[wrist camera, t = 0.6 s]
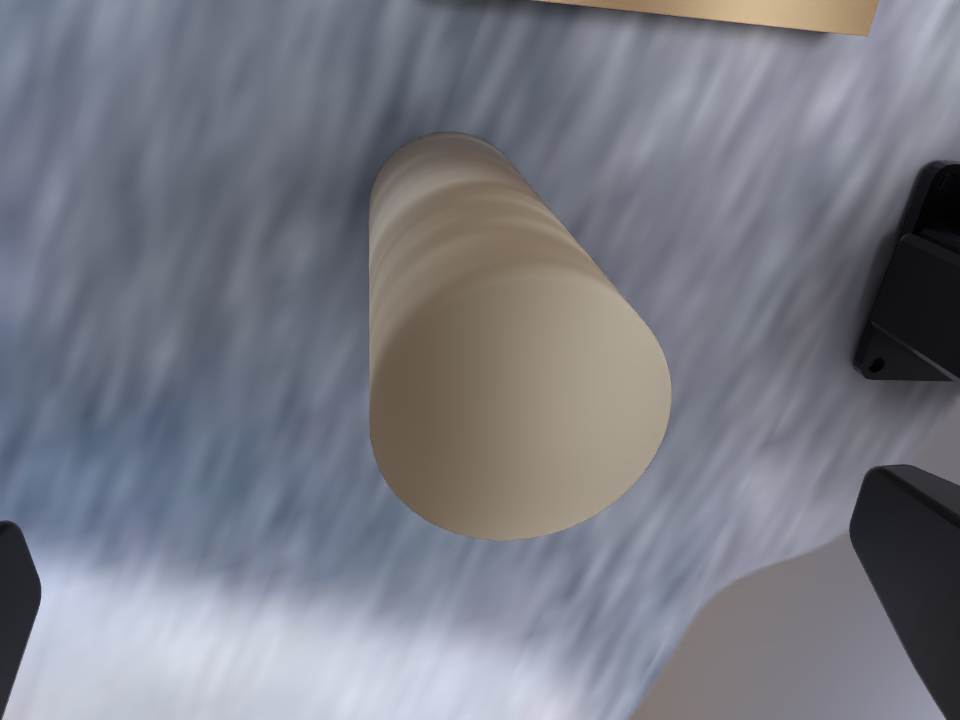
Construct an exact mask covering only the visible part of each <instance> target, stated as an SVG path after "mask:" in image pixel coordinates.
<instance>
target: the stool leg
mask: <svg viewBox="0 0 960 720" xmlns="http://www.w3.org/2000/svg"><path fill="white" fill-rule="evenodd" d="M369 381H370V438H371V443H372V448H373V453H374V456H375V459H376V462H377V464H378V467H379V469H380V472H381V473H382V475H383V477H384V479H385V480H386V482H387V484H388V485H389V487H390V488H391V489H392V490H393V492H394V493H395V494H396V496H397V497H398V498H399V499H400V500H401V501H402V502H403V503H404V504H405V505H406V506H407V507H409V508H410V509H411V510H412V511H413V512H415V513H416V514H418V515H419V516H420V517H422V518H423V519H425V520H427V521H429V522H431V523H432V524H434V525H436V526H438V527H440V528H443V529H445V530H448V531H451V532H453V533H456V534H460V535H464V536H468V537H472V538H479V539H486V540H521V539H529V538H535V537H540V536H545V535H548V534H552V533H556V532H559V531H562V530H565V529H567V528H570V527H572V526H575V525H577V524H579V523H581V522H583V521H585V520H587V519H589V518H591V517H593V516H595V515H596V514H598V513H599V512H601V511H603V510H604V509H606V508H607V507H609V506H610V505H611V504H612V503H614V502H615V501H616V500H617V499H619V498H620V497H621V496H622V495H624V494H625V493H626V492H627V491H628V490H629V489H630V488H631V487H632V486H633V485H634V484H635V483H636V481H637V480H638V479H639V478H640V476H641V475H642V474H643V473H644V471H645V470H646V469H647V467H648V466H649V464H650V463H651V461H652V459H653V458H654V456H655V455H656V453H657V450H658V448H659V446H660V444H661V442H662V440H663V437H664V434H665V431H666V428H667V425H668V421H669V415H670V410H671V394H672V388H671V380H670V372H669V369H668V365H667V362H666V358H665V355H664V353H663V351H662V349H661V347H660V345H659V342H658V340H657V339H656V337H655V336H654V334H653V333H652V332H651V330H650V329H649V327H648V326H647V325H646V323H645V322H644V321H643V320H642V319H641V317H640V316H639V315H638V314H637V313H636V311H635V310H634V309H633V308H632V307H631V305H630V304H629V303H628V302H627V301H626V300H625V298H624V297H623V296H622V295H621V294H620V292H619V291H618V290H617V289H616V288H615V286H614V285H613V284H612V283H611V282H610V280H609V279H608V278H607V277H606V276H605V274H604V273H603V272H602V271H601V270H600V269H599V267H598V266H597V265H596V264H595V263H594V261H593V260H592V259H591V258H590V257H589V255H588V254H587V253H586V252H585V251H584V249H583V248H582V247H581V246H580V245H579V243H578V242H577V241H576V240H575V239H574V238H573V236H572V235H571V234H570V233H569V232H568V230H567V229H566V228H565V227H564V226H563V224H562V223H561V222H560V221H559V220H558V218H557V217H556V216H555V215H554V214H553V212H552V211H551V210H550V209H549V208H548V206H547V205H546V204H545V203H544V202H543V201H542V199H541V198H540V197H539V196H538V195H537V193H536V192H535V191H534V190H533V189H532V187H531V186H530V185H529V184H528V183H527V181H526V180H525V179H524V178H523V177H522V175H521V174H520V173H519V172H518V171H517V170H516V168H515V167H514V166H513V165H512V164H511V162H510V161H509V160H508V159H507V158H506V157H505V156H504V155H503V153H501V152H500V151H499V150H498V149H497V148H495V147H494V146H493V145H491V144H489V143H488V142H486V141H484V140H482V139H480V138H478V137H475V136H472V135H469V134H465V133H458V132H439V133H432V134H429V135H425V136H422V137H419V138H417V139H415V140H412V141H411V142H409V143H407V144H406V145H404V146H402V147H401V148H400V149H399V150H397V151H396V152H395V153H394V154H393V155H392V156H391V157H390V158H389V159H388V160H387V161H386V163H385V164H384V166H383V167H382V168H381V170H380V172H379V174H378V175H377V177H376V180H375V182H374V185H373V187H372V191H371V196H370V203H369Z"/></svg>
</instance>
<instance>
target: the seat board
mask: <svg viewBox="0 0 960 720" xmlns="http://www.w3.org/2000/svg"><path fill="white" fill-rule="evenodd" d="M532 1H541V2H551V3H560V4H569V5H578V6H587V7H597V8H606V9H615V10H624V11H633V12H643V13H652V14H661V15H670V16H679V17H689V18H698V19H707V20H716V21H725V22H735V23H744V24H753V25H762V26H771V27H781V28H790V29H799V30H808V31H818V32H827V33H837V34H848V35H860V36H868V34H869V31H870V27H871V24H872V21H873V18H874V14H875V11H876V8H877V5H878V2H879V0H532Z"/></svg>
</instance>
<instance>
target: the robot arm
mask: <svg viewBox="0 0 960 720" xmlns="http://www.w3.org/2000/svg"><path fill="white" fill-rule="evenodd" d="M945 175H946V180H945V182H944V183H943V185H942V186H940V187H939V182H940V180H941V179H942V177H944V176H945ZM875 358H876V360H875V362H874V363H873V364H872V365H870V366H869V364H870V363H871V361H873V360H874V359H875ZM853 366H854V369H855V370H856V371H857V372H858V373H860V374H861V375H862V376H864V377H865V378H866V379H871V380H917V381H955V382H956V383H958V384H959V385H960V162H955V161H939V162H936V163H934V164H932V165H931V166H930V167H929V168H928V169H927V170H926V171H925V172H924V174H923V176H922V177H921V180H920V182H919V185H918V188H917V191H916V193H915V196H914V199H913V201H912V204H911V207H910V209H909V212H908V215H907V217H906V220H905V223H904V226H903V228H902V231H901V234H900V236H899V239H898V242H897V244H896V247H895V250H894V252H893V255H892V258H891V261H890V263H889V266H888V269H887V271H886V274H885V277H884V279H883V282H882V285H881V287H880V290H879V293H878V296H877V298H876V301H875V304H874V306H873V309H872V312H871V314H870V317H869V320H868V322H867V325H866V328H865V331H864V333H863V336H862V339H861V341H860V344H859V347H858V349H857V352H856V355H855V357H854V362H853ZM849 532H850V539H851V542H852V545H853V548H854V549H855V552H856V554H857V556H858V558H859V560H860V562H861V564H862V566H863V568H864V569H865V572H866V573H867V576H868V577H869V580H870V582H871V584H872V586H873V588H874V590H875V592H876V594H877V596H878V598H879V600H880V602H881V604H882V605H883V608H884V610H885V611H886V613H887V616H888V618H889V620H890V621H891V623H892V625H893V627H894V629H895V631H896V633H897V635H898V637H899V639H900V641H901V643H902V645H903V647H904V649H905V651H906V653H907V655H908V657H909V659H910V660H911V662H912V664H913V666H914V668H915V670H916V671H917V673H918V675H919V676H920V678H921V680H922V681H923V683H924V685H925V687H926V688H927V690H928V692H929V693H930V695H931V696H932V698H933V700H934V701H935V703H936V704H937V706H938V708H939V709H940V711H941V712H942V714H943V716H944V717H945V719H946V720H960V486H959V485H957V484H954V483H952V482H950V481H947V480H945V479H942V478H940V477H938V476H936V475H933V474H931V473H928V472H926V471H924V470H921V469H919V468H917V467H914V466H911V465H905V464H902V465H886V466H876V467H873V468H871V469H870V470H869V471H868V472H867V473H866V474H865V477H864V479H863V482H862V485H861V489H860V492H859V495H858V498H857V501H856V505H855V508H854V511H853V514H852V517H851V521H850V527H849ZM40 601H41V583H40V579H39V576H38V573H37V571H36V568H35V565H34V563H33V560H32V557H31V554H30V552H29V549H28V546H27V544H26V541H25V538H24V535H23V533H22V531H21V529H20V528H19V526H18V525H17V524H15V523H14V522H11V521H6V520H5V521H0V720H2V718H3V715H4V712H5V709H6V706H7V703H8V700H9V697H10V694H11V691H12V688H13V685H14V682H15V679H16V676H17V673H18V670H19V667H20V664H21V661H22V658H23V655H24V652H25V649H26V646H27V643H28V640H29V637H30V634H31V631H32V628H33V624H34V621H35V618H36V615H37V612H38V609H39V606H40Z"/></svg>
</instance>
